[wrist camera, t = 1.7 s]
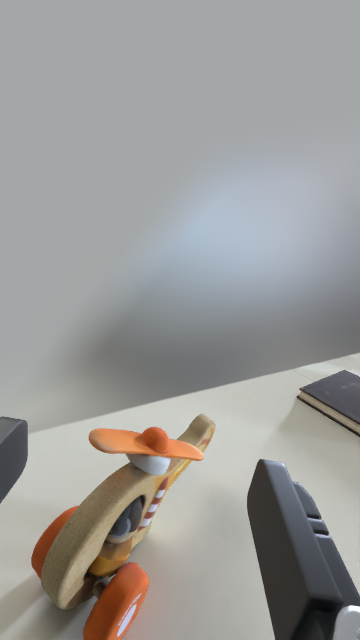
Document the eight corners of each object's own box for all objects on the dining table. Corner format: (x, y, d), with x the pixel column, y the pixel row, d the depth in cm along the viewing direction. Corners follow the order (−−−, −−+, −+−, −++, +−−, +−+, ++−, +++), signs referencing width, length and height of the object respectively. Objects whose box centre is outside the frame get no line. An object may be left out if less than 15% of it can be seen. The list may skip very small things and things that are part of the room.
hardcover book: (296, 397, 55) (299, 388, 54) (341, 377, 69) (344, 369, 68) (384, 452, 43) (390, 441, 42) (416, 414, 57) (421, 405, 56)
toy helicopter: (14, 592, 20) (10, 451, 16) (173, 444, 37) (192, 357, 32) (81, 705, 16) (100, 555, 12) (225, 480, 33) (254, 385, 28)
